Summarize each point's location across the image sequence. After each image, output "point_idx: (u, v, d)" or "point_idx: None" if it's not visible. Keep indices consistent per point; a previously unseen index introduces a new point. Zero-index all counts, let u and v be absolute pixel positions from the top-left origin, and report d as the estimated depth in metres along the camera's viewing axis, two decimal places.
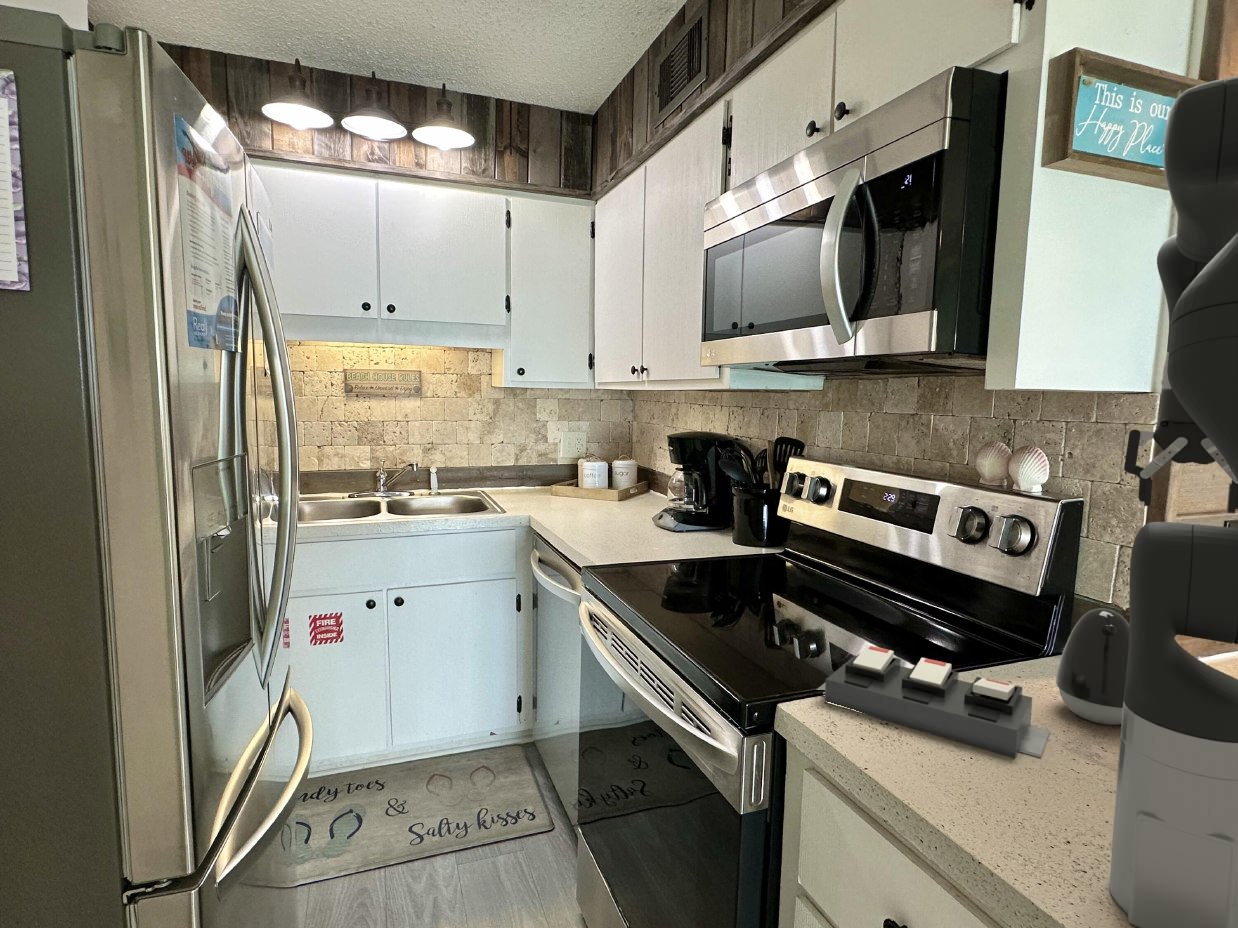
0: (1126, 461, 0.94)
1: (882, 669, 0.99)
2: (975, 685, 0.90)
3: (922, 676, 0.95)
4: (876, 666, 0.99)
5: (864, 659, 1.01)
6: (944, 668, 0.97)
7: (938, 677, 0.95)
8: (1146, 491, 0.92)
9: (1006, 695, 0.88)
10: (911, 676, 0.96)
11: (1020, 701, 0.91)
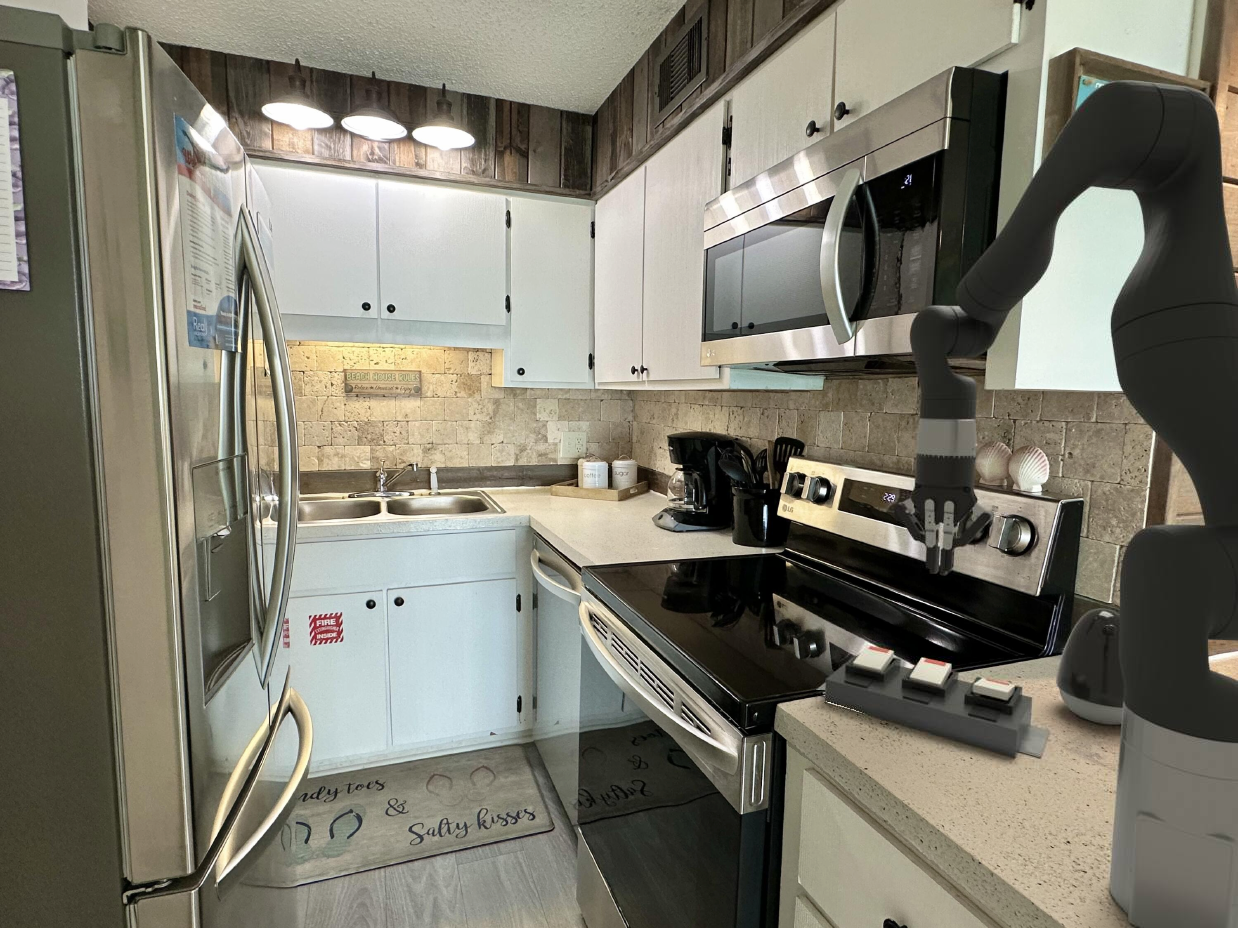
0: (910, 532, 0.98)
1: (882, 669, 0.99)
2: (975, 685, 0.90)
3: (922, 676, 0.95)
4: (876, 666, 0.99)
5: (864, 659, 1.01)
6: (944, 668, 0.97)
7: (938, 677, 0.95)
8: (931, 559, 0.96)
9: (1006, 695, 0.88)
10: (911, 676, 0.96)
11: (1020, 701, 0.91)
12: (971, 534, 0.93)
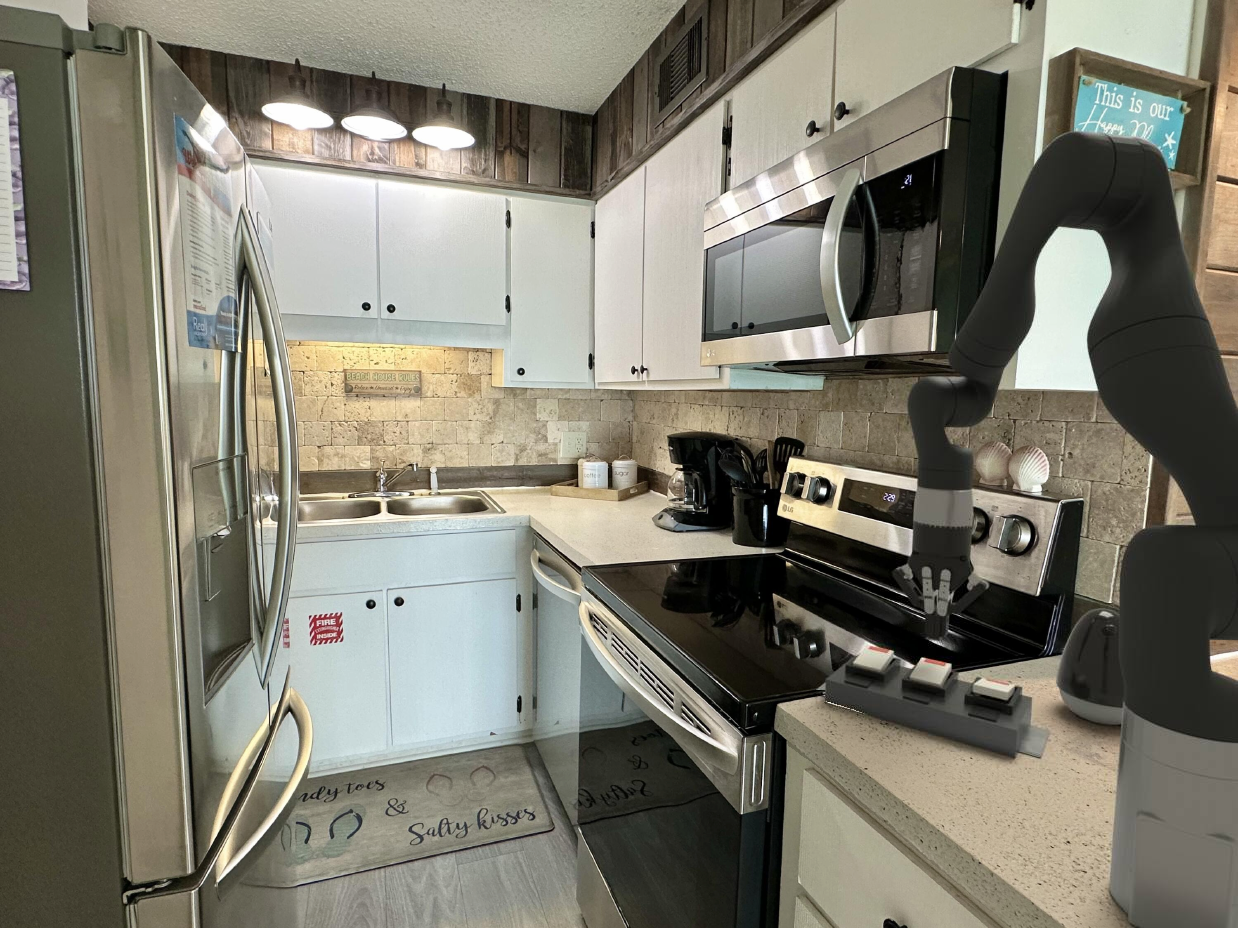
0: (909, 598, 0.99)
1: (882, 669, 0.99)
2: (975, 685, 0.90)
3: (922, 676, 0.95)
4: (876, 666, 0.99)
5: (864, 659, 1.01)
6: (944, 668, 0.97)
7: (938, 677, 0.95)
8: (930, 625, 0.97)
9: (1006, 695, 0.88)
10: (911, 676, 0.96)
11: (1020, 701, 0.91)
12: (966, 603, 0.94)
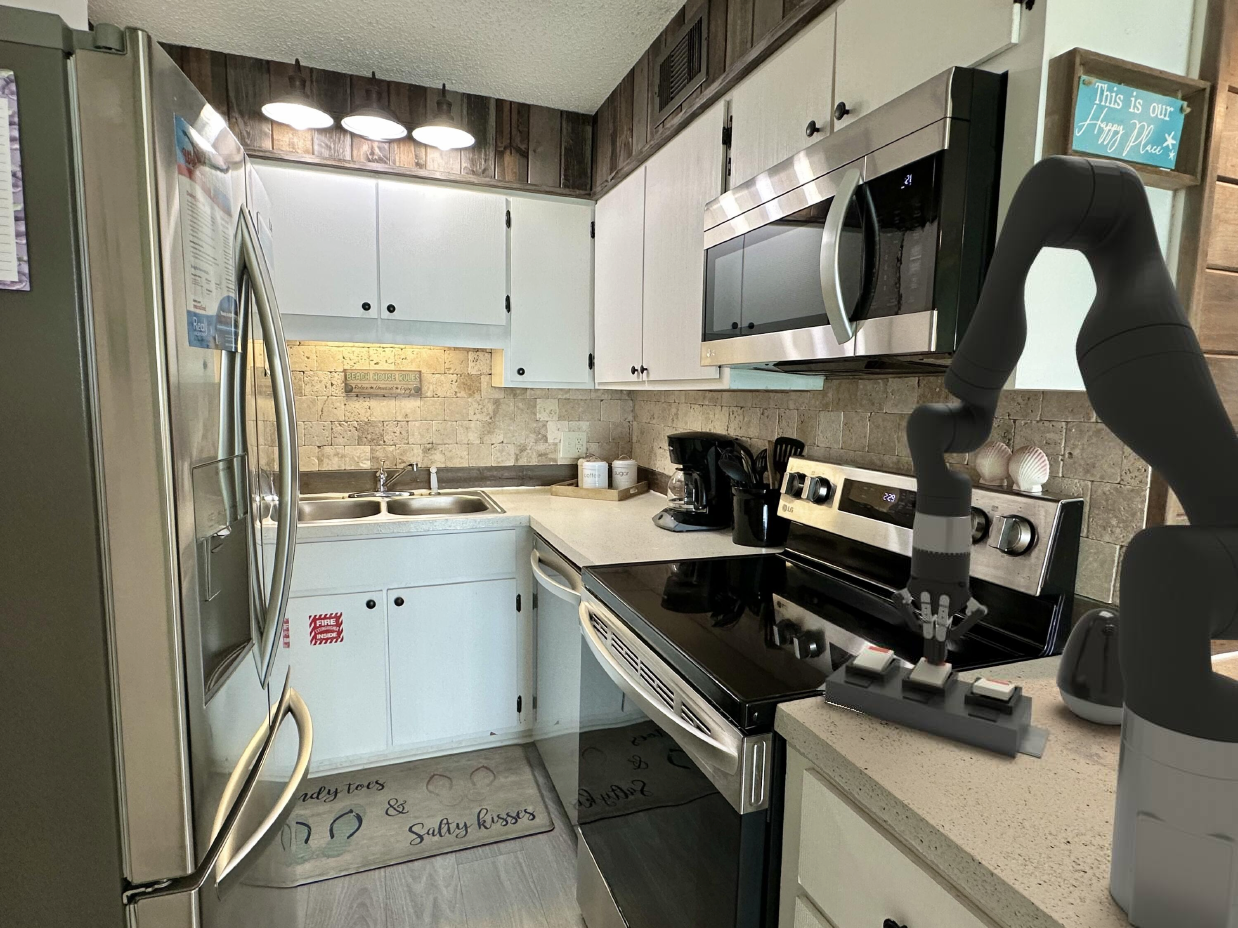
0: (908, 622, 0.99)
1: (882, 669, 0.99)
2: (975, 685, 0.90)
3: (922, 676, 0.95)
4: (876, 666, 0.99)
5: (864, 659, 1.01)
6: (944, 668, 0.97)
7: (938, 677, 0.95)
8: (929, 650, 0.98)
9: (1006, 695, 0.88)
10: (911, 676, 0.96)
11: (1020, 701, 0.91)
12: (964, 628, 0.94)
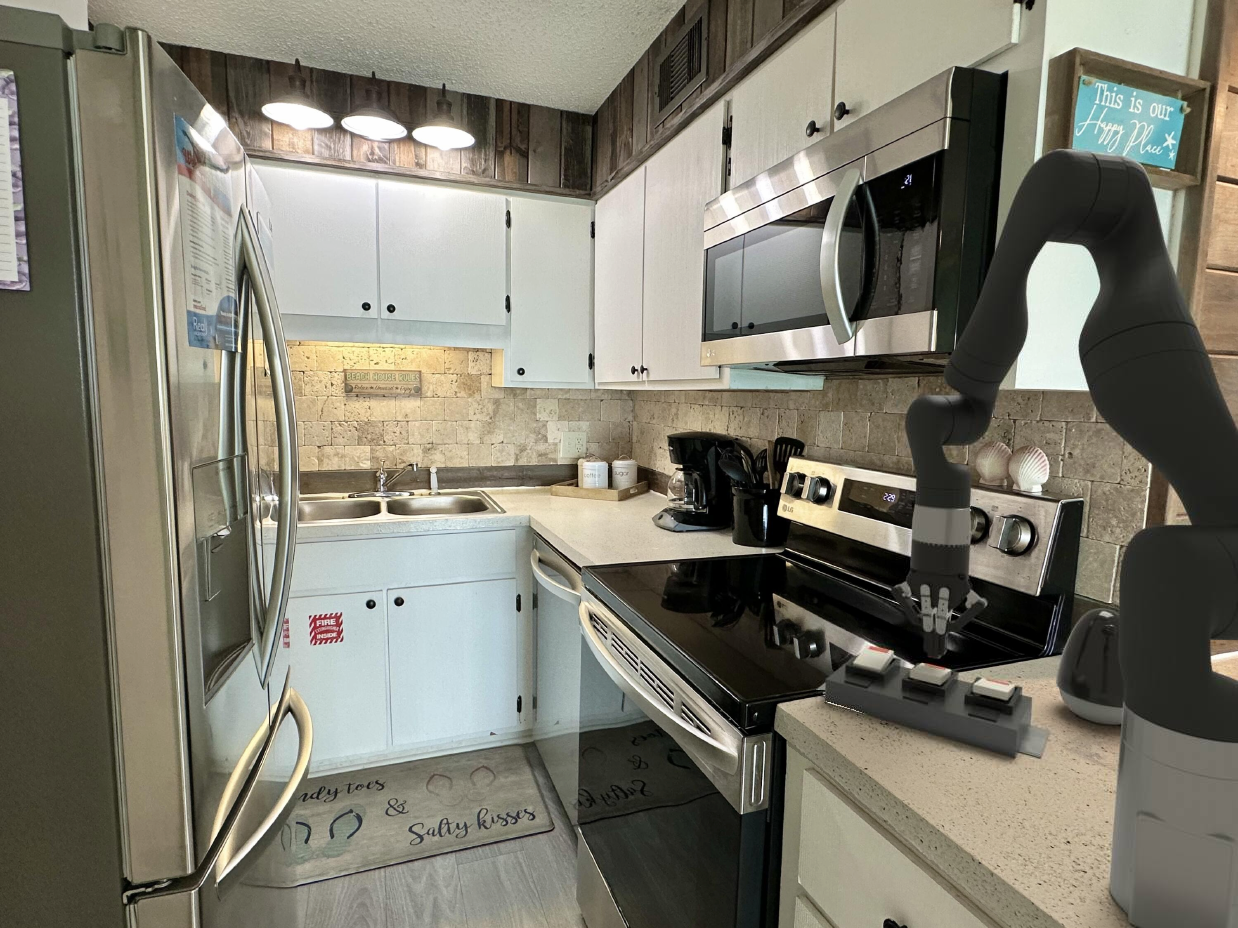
0: (908, 616, 0.99)
1: (882, 669, 0.99)
2: (975, 685, 0.90)
3: (922, 671, 0.95)
4: (876, 666, 0.99)
5: (864, 659, 1.01)
6: (944, 670, 0.97)
7: (938, 674, 0.95)
8: (929, 643, 0.97)
9: (1006, 695, 0.88)
10: (912, 670, 0.96)
11: (1020, 701, 0.91)
12: (964, 621, 0.94)
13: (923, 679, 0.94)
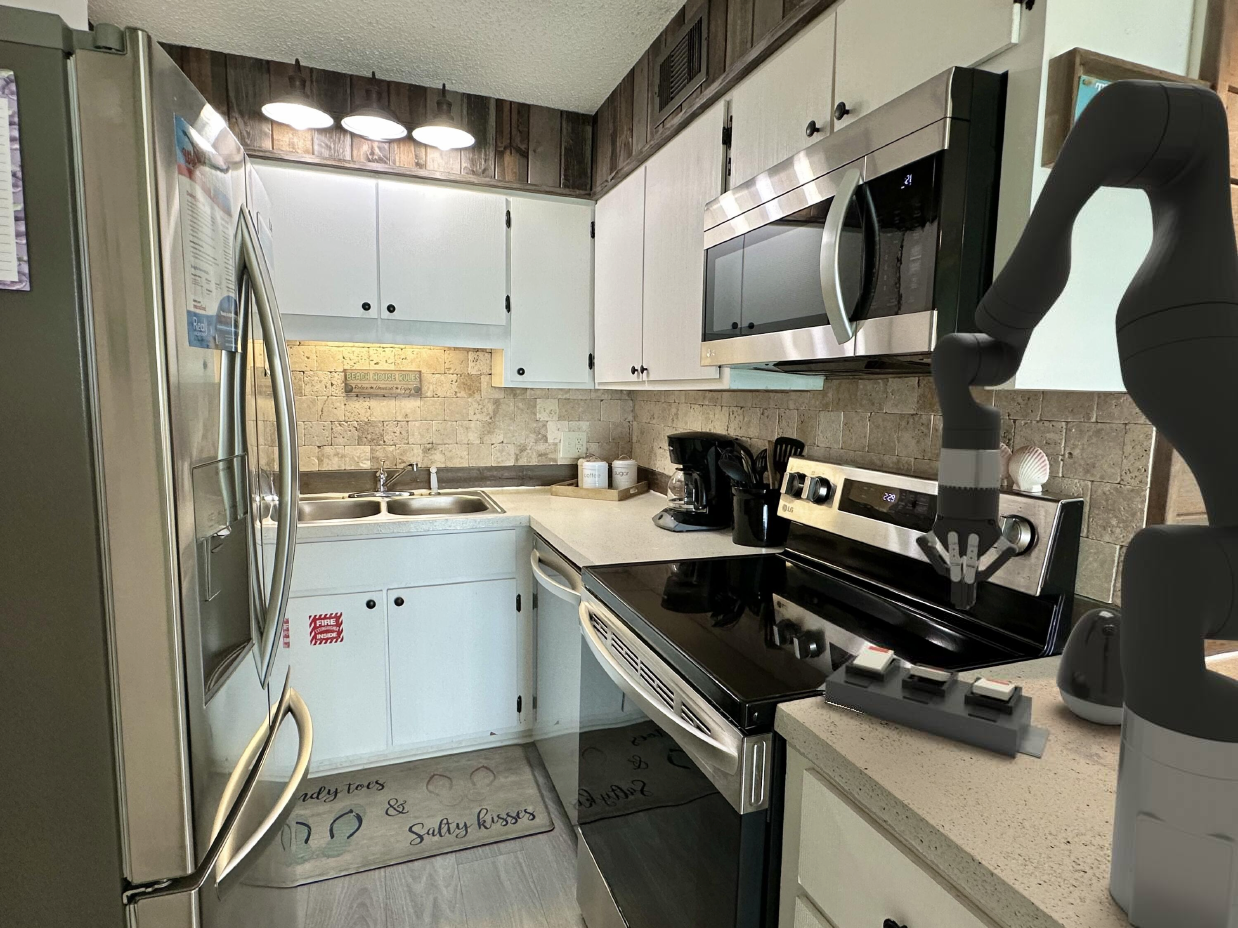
0: (934, 566, 0.94)
1: (882, 669, 0.99)
2: (975, 685, 0.90)
3: (923, 668, 0.95)
4: (876, 666, 0.99)
5: (864, 659, 1.01)
6: (944, 672, 0.97)
7: (939, 672, 0.95)
8: (956, 594, 0.93)
9: (1006, 695, 0.88)
10: (912, 666, 0.96)
11: (1020, 701, 0.91)
12: (995, 568, 0.90)
13: (923, 675, 0.94)
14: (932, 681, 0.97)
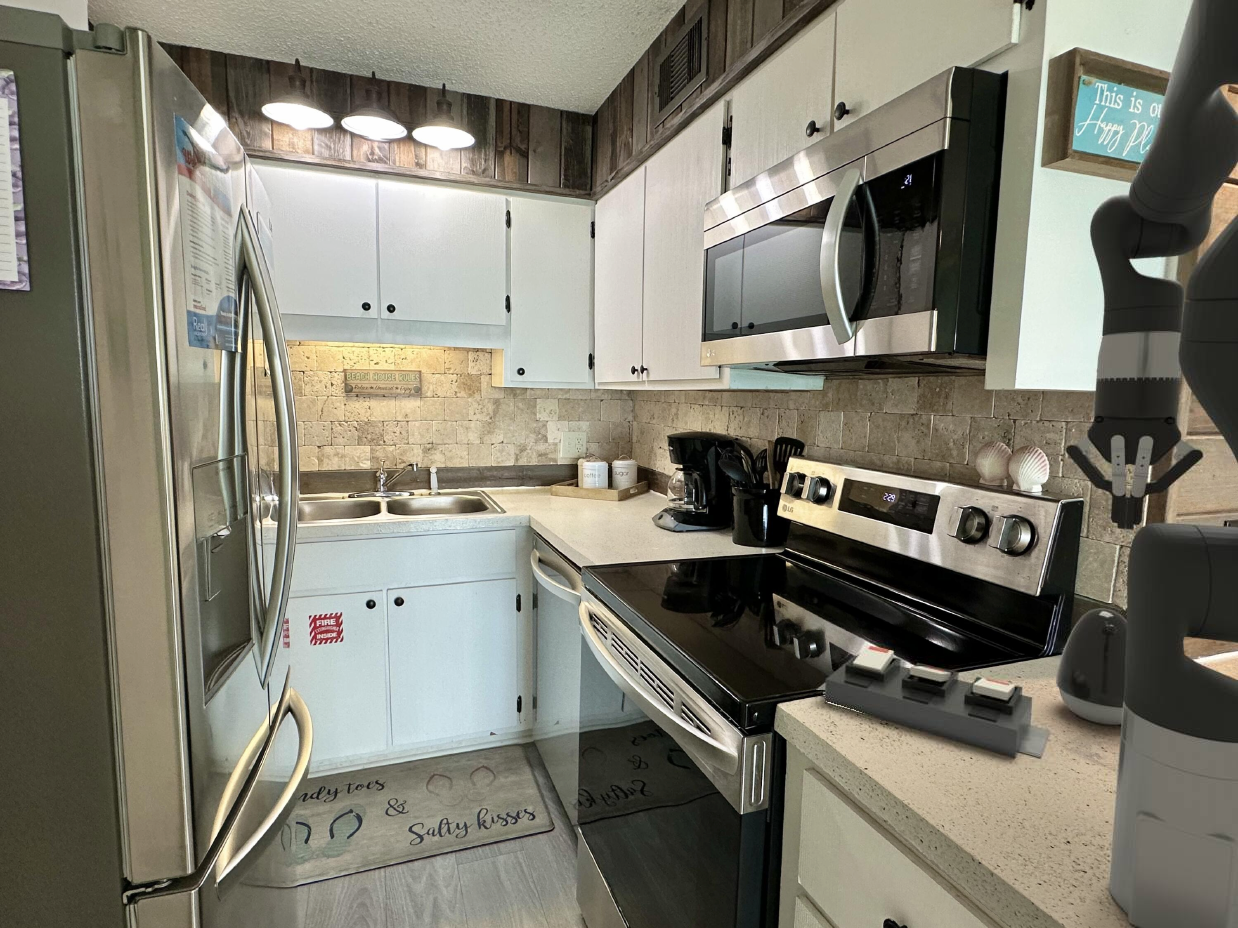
0: (1090, 479, 0.79)
1: (882, 669, 0.99)
2: (975, 685, 0.90)
3: (923, 669, 0.95)
4: (876, 666, 0.99)
5: (864, 659, 1.01)
6: (944, 672, 0.97)
7: (939, 672, 0.95)
8: (1120, 511, 0.77)
9: (1006, 695, 0.88)
10: (912, 667, 0.96)
11: (1020, 701, 0.91)
12: (1173, 477, 0.74)
13: (923, 676, 0.94)
14: (932, 681, 0.97)
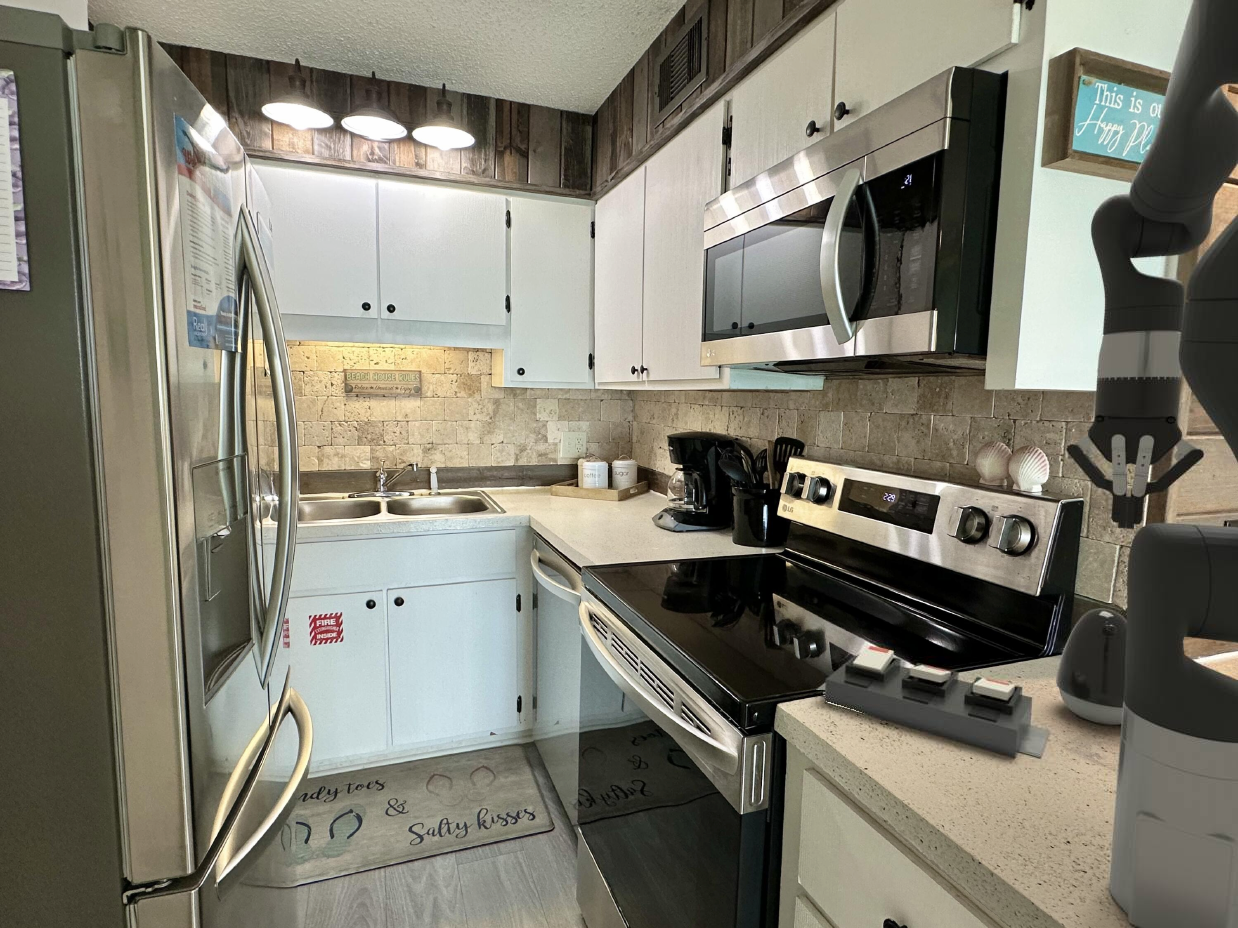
0: (1091, 478, 0.79)
1: (882, 669, 0.99)
2: (975, 685, 0.90)
3: (923, 670, 0.95)
4: (876, 666, 0.99)
5: (864, 659, 1.01)
6: (944, 671, 0.97)
7: (939, 673, 0.95)
8: (1120, 510, 0.77)
9: (1006, 695, 0.88)
10: (912, 668, 0.96)
11: (1020, 701, 0.91)
12: (1174, 476, 0.74)
13: (923, 677, 0.94)
14: (932, 681, 0.97)
